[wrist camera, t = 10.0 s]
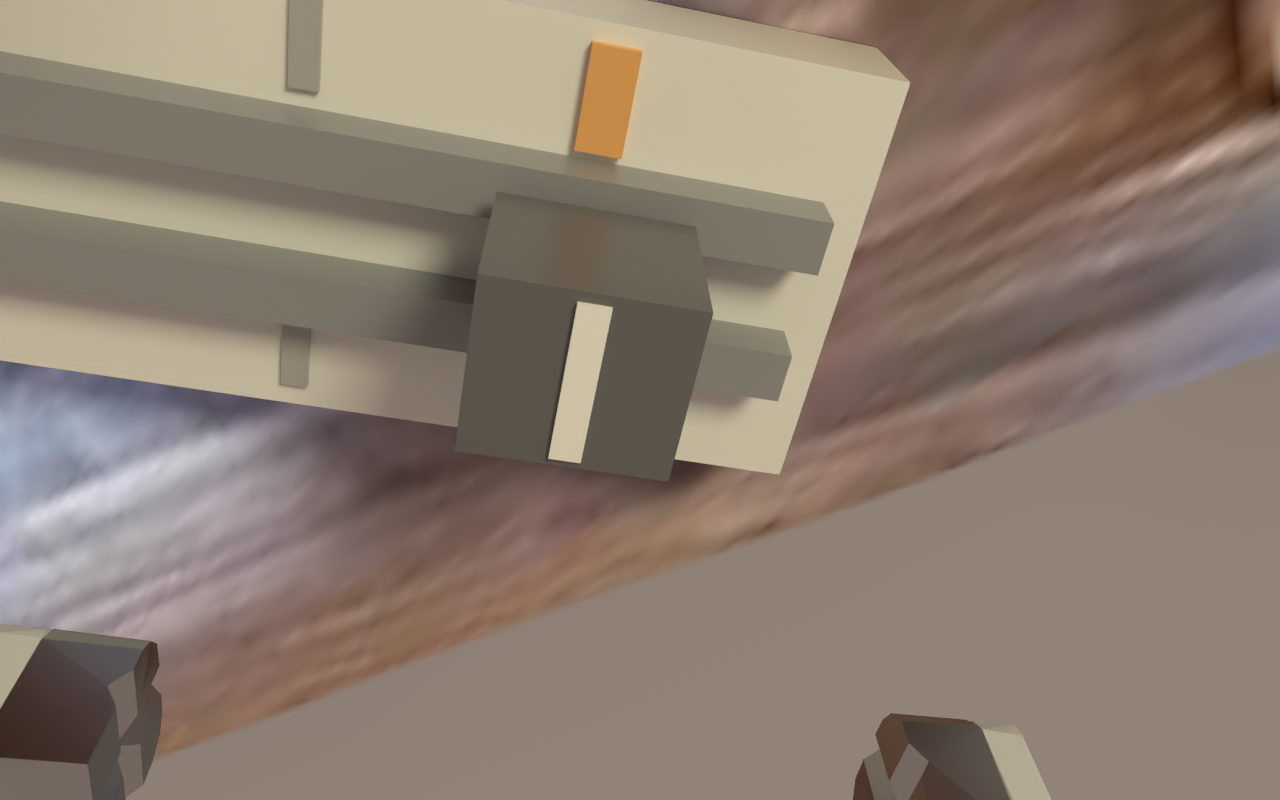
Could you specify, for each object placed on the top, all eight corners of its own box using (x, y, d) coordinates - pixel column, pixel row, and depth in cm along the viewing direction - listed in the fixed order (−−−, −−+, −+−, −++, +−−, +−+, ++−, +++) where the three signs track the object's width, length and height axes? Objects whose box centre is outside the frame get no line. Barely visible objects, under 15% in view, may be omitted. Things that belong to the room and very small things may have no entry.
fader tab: (482, 315, 23) (453, 454, 19) (503, 163, 22) (476, 276, 17) (655, 343, 24) (668, 484, 19) (690, 198, 22) (713, 315, 17)
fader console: (-172, 266, 26) (-297, 348, 22) (-275, -190, 20) (-461, -179, 17) (763, 411, 29) (786, 503, 25) (877, 47, 24) (926, 99, 20)
